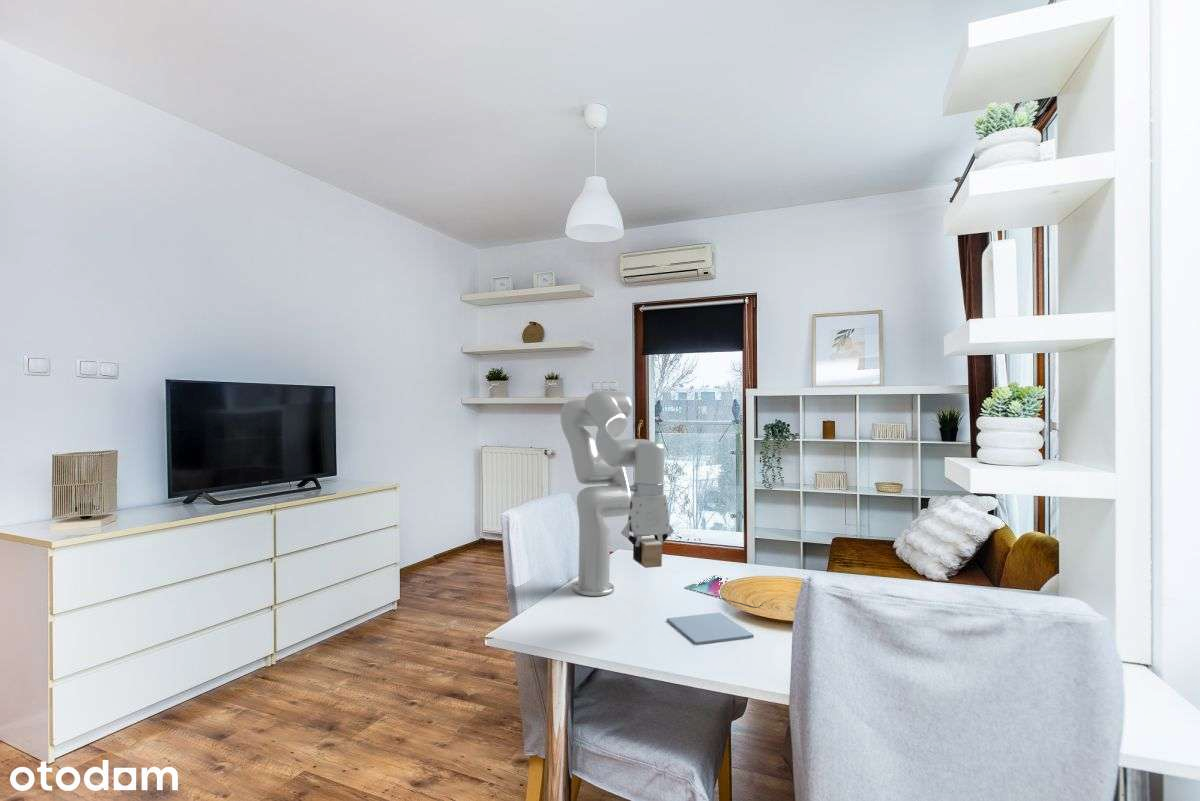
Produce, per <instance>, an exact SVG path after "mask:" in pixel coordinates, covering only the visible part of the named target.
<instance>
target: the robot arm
mask: <svg viewBox="0 0 1200 801" xmlns="http://www.w3.org/2000/svg"><path fill="white" fill-rule="evenodd" d="M632 409H633V404H632V400H631V398H630V397H629V395H628V394H627V393H625V392H622V391H612V390H611V391H605V390H602V391H601V390H599V391H598V390H597V391H593V392H591V393H589V394H588V395H587V396H586V397H585V399H574V400H569V401H567V402H566V403H564V404H563V406H562V407H561V411H560V425H561V429H562V431H563V434H564V436H565V439H566V441H567V443H568V445H569V449H570V455H571V458H572V464H573V467H574V473H575V476H576V479H577V481H578V483H580V484H582V485H587V486H588V487H585V488H583V489H581V490H580V491H579V492H578V494H577V496H576V508H577V514H578V526H579V527H578V529H579V530H578V531H579V532H578V578H577V579H578V580H577V582H575V583H573V586H572V589H573V590H572V591H573V592H575V593H576V594H580V595H583V596H589V597H590V596H591V597H599V596H600V597H601V596H607V595H610V594H612V593H614V591H615V585H614V584H613V583H611V582H610V567H611V566H610V562H611V560H610V559H611V558H610V557H611V555H610V554H611V531H610V528H609V527H608V525H607V524H606V522H605V521H604V518H612V517H613V518H614V517H615V518H616V517H622V516H628V517H627V523H626V525H625V526H624V528H623V529H622V530H621V532H620V533H621V535H622V536H624V537H625V538H626V539H627V540H628V541H629V542H630V543H632V545H633V550H632V551H633V553H632V558H633V557H634V559H635V560H636V561H637V562H636V561H635V560H634V561H635V562H636V563H638V562H641V555H642V547H641V546H640V543H641V538H642V536H653V538H654V539H656V540H657V541H659V542H661V543H662V546H663V545H664V542H665V541H666V540H667V539H668V537H670V536H671V535H672V534H673V533H674V529H673V527H672V526H671V524H670V513H669V512H670V511H669V504H668V503H669V502H668V498H667V495H666V494H664V478H665V477H664V475H665V474H664V472H665V471H664V470H665V469H664V468H665V447H664V444H663V443H662V442H658V441H651V440H649V439H645V438H620V439H619V438H618V439H617V437H620V436H621V435H622V433H624V432H625V431H626V428H627V426H628V417H629V416H631V413H632ZM585 427H597V432H596V434H595V435H596V436H595V438H594V437H593V436H592V434H591V433H590V432H589V431H588V430H587V429H585ZM626 468H634V475H633V476H634V478H633V479H634V482H633V485H630V483H629V479H628V475H627V471H626ZM589 485H590V486H589ZM591 485H592V486H591ZM593 485H595V486H593ZM598 485H599V486H598ZM632 493H633V494H632ZM630 532H631V533H632V534H633V535H632V534H630Z"/></svg>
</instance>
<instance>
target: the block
mask: <svg viewBox="0 0 1200 801" xmlns="http://www.w3.org/2000/svg"><path fill="white" fill-rule="evenodd" d="M640 546H641V547H642V555H641V562H637V561H636V560H635V559H634V557H633V556H632V560H634V562H636V563H637V564H639V565H640V566H642V567H643V568H645V569H647V568H648V569H650V568H660V567H662V564H663V545H662V543H661V542H659V541H657V540H656V539H654V537H652V536H651V535H646V536H642V538H641V543H640Z"/></svg>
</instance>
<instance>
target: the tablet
mask: <svg viewBox="0 0 1200 801" xmlns="http://www.w3.org/2000/svg"><path fill="white" fill-rule="evenodd" d="M712 576H713V577H714V578H713V577H712ZM712 576H711V577H712V578H711V579H710V578H709V577H708V578H709V579H710V580H708V579H707V578H706V579H707V580H708V581H709V582H708V581H707V580H706V581H705V580H704V579H703V580H704V581H705V582H704V581H703V582H702V583H701V582H700V583H701V584H700V583H699V584H698V585H697V584H694V583H691V584H688V585H686V586H685V587H683V588H684V589H685V590H688V589H689V590H688V591H692V590H693V591H692V592H695V591H697V592H696V593H699V592H700V594H702V593H704V594H703V595H706V594H707V595H706V596H710V595H711V596H710V597H713V596H715V597H714V598H717V597H719V598H718V599H721V598H720V594H719V590H720V587H721V585H722V584H723V582H719V581H721V580H722V578H719V577H717V578H715V576H716V575H712ZM725 578H726V579H727V580H728V578H729V577H725ZM719 579H720V580H719ZM726 582H727V581H725V583H726ZM719 583H720V585H719ZM696 585H697V586H696Z"/></svg>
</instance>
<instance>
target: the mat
mask: <svg viewBox="0 0 1200 801" xmlns="http://www.w3.org/2000/svg"><path fill="white" fill-rule="evenodd" d="M666 620H667V622H668V623H670V624H671V625H672V626H673V627H674V628H676V630H678V631H679V632H680V633H682V635H684V637H686V638H687V639H689V640H690V641H691V642H692V643H694V645H696V646H697V645H704V644H705V645H706V644H713V643H719V642H727V641H728V642H729V641H736V640H743V639H751V637H752V638H754V637H755V636H754V635H755V634H753V633H752V632H750V631H749V630H747V629H746V628H745V627H743V626H741V625H740V624H738V623H737V622H735V621H734V620H732V619H731V618H729V617H728V616H726V615H725V614H723V613H722V612H711V613H702V614H701V613H700V614H693V615H686V616H683V615H682V616H675V617H667V618H666Z"/></svg>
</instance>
